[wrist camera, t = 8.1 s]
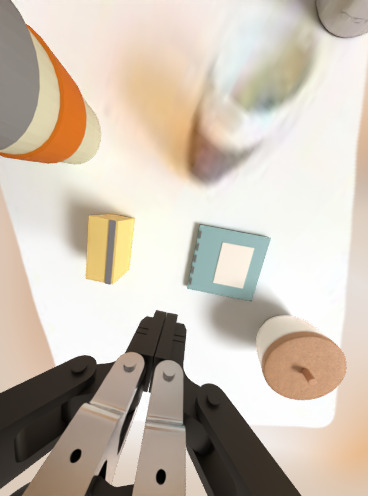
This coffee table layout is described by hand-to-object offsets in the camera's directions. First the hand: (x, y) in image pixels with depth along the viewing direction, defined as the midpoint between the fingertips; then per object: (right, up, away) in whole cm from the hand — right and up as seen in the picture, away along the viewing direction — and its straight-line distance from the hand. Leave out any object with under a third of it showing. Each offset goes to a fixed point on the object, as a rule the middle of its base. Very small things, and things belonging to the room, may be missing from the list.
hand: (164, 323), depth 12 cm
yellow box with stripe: (-9, +6, +18) cm, 21 cm away
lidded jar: (+18, -10, +19) cm, 28 cm away
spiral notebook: (+8, +3, +17) cm, 19 cm away
